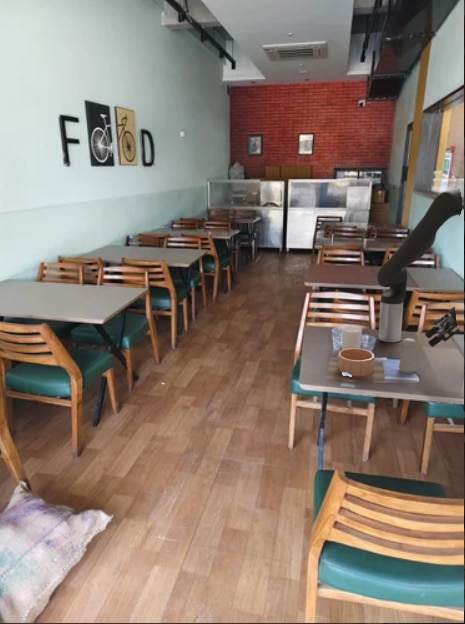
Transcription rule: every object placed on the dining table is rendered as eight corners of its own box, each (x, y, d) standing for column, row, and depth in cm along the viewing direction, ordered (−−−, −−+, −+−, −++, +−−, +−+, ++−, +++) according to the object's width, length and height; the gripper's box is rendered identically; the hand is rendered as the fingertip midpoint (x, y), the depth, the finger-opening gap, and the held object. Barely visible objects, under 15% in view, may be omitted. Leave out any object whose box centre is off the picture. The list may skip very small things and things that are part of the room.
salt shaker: (417, 376, 153) (419, 342, 149) (400, 376, 154) (402, 341, 150) (413, 370, 158) (416, 336, 154) (397, 369, 159) (399, 336, 156)
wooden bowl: (339, 361, 166) (339, 347, 165) (373, 364, 163) (373, 349, 161) (337, 375, 155) (337, 359, 153) (373, 378, 151) (374, 362, 150)
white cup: (342, 355, 175) (343, 332, 172) (340, 348, 182) (341, 326, 180) (362, 355, 174) (363, 332, 171) (359, 348, 181) (360, 325, 179)
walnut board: (329, 359, 171) (330, 357, 171) (382, 362, 165) (382, 361, 165) (326, 380, 153) (326, 378, 152) (385, 385, 147) (385, 383, 147)
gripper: (455, 297, 151) (418, 326, 157) (464, 308, 138) (423, 339, 144) (470, 312, 151) (432, 341, 157) (481, 324, 138) (439, 355, 144)
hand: (428, 340), depth 151 cm, fingers open, 8 cm apart
